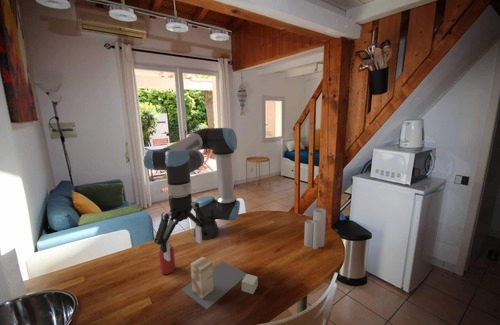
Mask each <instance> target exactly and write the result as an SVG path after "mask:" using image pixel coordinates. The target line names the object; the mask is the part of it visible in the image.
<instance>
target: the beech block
mask: <svg viewBox="0 0 500 325" xmlns="http://www.w3.org/2000/svg"><path fill="white" fill-rule="evenodd" d="M213 267H214V266H213V262H212V261H211V260H210V259H208V258H206V257H204V256H201V257H199V258H198V259H196V260H194V261H192V262H191V263H190V274H191V282H192V292H193V293H194V294H196V295H197V296H198V297H200V298H201V299H203V298H205V297H206V296H207V295H208V294H210V293H211V292H212V291H213V290H214V287H213Z"/></svg>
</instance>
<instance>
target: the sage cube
mask: <svg viewBox="0 0 500 325" xmlns="http://www.w3.org/2000/svg"><path fill="white" fill-rule="evenodd" d="M258 282H259V281H258V276H256V275H252V274H249V273H246V275H245V277H244V278H243V279H242V280H241V291H242V292H244V293H249V294H252V295H254V293H255V292H256V289H257V288H258V286H259V285H258Z"/></svg>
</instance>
